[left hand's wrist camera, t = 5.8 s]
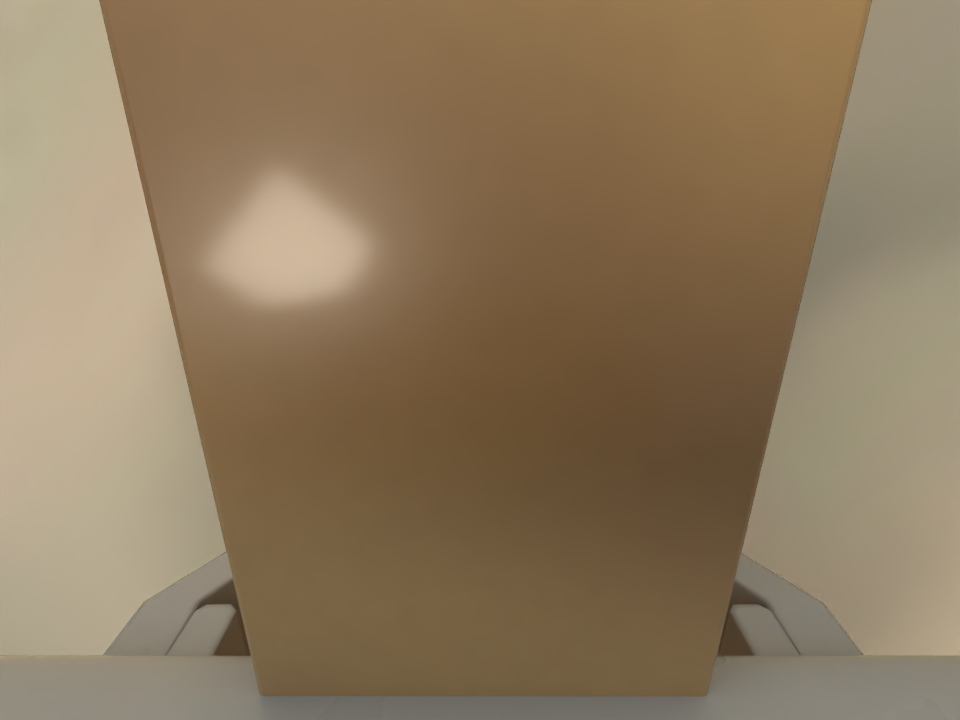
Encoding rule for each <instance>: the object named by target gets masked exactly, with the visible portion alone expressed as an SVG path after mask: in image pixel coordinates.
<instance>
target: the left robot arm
mask: <svg viewBox="0 0 960 720" xmlns="http://www.w3.org/2000/svg"><path fill="white" fill-rule="evenodd" d="M0 720H960V656H864V655H863V654H862V653H861V651H860V650H859V649H858V647H857V646H856V645H855V644H854V642H853V641H852V640H851V638H850V637H849V636H848V635H847V633H846V632H845V631H844V629H843V628H842V627H841V625H840V624H839V623H838V622H837V620H836V619H835V618H834V616H833V615H832V614H831V613H830V611H829V610H828V609H827V607H826V606H825V605H824V604H823V603H822V602H821V601H819V600H817V599H816V598H814V597H812V596H811V595H809V594H807V593H806V592H804V591H802V590H801V589H799V588H798V587H796V586H794V585H793V584H791V583H789V582H788V581H786V580H784V579H783V578H781V577H779V576H778V575H776V574H774V573H773V572H771V571H770V570H768V569H766V568H765V567H763V566H761V565H760V564H758V563H756V562H755V561H753V560H751V559H750V558H748V557H746V556H745V555H743V554H742V553H741V555H740V559H739V564H738V568H737V572H736V576H735V581H734V585H733V589H732V593H731V597H730V602H729V606H728V610H727V614H726V619H725V623H724V627H723V631H722V635H721V640H720V644H719V648H718V652H717V657H716V661H715V665H714V669H713V673H712V678H711V682H710V686H709V690H708V695H705V696H703V697H695V696H263V695H260V694H259V689H258V685H257V681H256V676H255V672H254V668H253V663H252V659H251V655H250V650H249V646H248V642H247V637H246V633H245V629H244V624H243V620H242V616H241V611H240V607H239V603H238V598H237V594H236V590H235V585H234V581H233V577H232V572H231V568H230V564H229V559H228V555H227V552H225V553H223V554H222V555H220V556H219V557H217V558H215V559H214V560H212V561H210V562H209V563H207V564H205V565H204V566H202V567H201V568H199V569H197V570H196V571H194V572H192V573H191V574H189V575H187V576H186V577H184V578H183V579H181V580H179V581H178V582H176V583H174V584H173V585H171V586H169V587H168V588H166V589H164V590H163V591H161V592H160V593H158V594H156V595H155V596H153V597H151V598H150V599H148V600H146V601H145V602H143V604H142V605H141V606H140V608H139V609H138V610H137V612H136V613H135V614H134V615H133V617H132V618H131V619H130V621H129V622H128V623H127V625H126V626H125V627H124V629H123V630H122V631H121V632H120V634H119V635H118V636H117V638H116V639H115V640H114V642H113V643H112V644H111V645H110V647H109V648H108V649H107V651H106V652H105V653H104V655H103V656H0Z"/></svg>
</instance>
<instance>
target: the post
mask: <svg viewBox="0 0 960 720" xmlns="http://www.w3.org/2000/svg"><path fill="white" fill-rule="evenodd" d="M99 1H100V5H101V10H102V14H103V18H104V23H105V27H106V31H107V36H108V40H109V44H110V49H111V53H112V57H113V62H114V66H115V70H116V75H117V79H118V83H119V88H120V92H121V96H122V101H123V105H124V109H125V113H126V118H127V122H128V126H129V131H130V135H131V139H132V144H133V148H134V152H135V157H136V161H137V165H138V170H139V174H140V178H141V183H142V187H143V191H144V196H145V200H146V204H147V209H148V213H149V217H150V222H151V226H152V230H153V235H154V239H155V243H156V248H157V252H158V256H159V261H160V265H161V269H162V274H163V278H164V282H165V287H166V291H167V295H168V300H169V304H170V308H171V313H172V317H173V321H174V326H175V330H176V334H177V339H178V343H179V347H180V352H181V356H182V360H183V365H184V369H185V373H186V378H187V382H188V386H189V391H190V395H191V399H192V404H193V408H194V412H195V417H196V421H197V425H198V430H199V434H200V438H201V443H202V447H203V451H204V456H205V460H206V464H207V468H208V473H209V477H210V481H211V486H212V490H213V494H214V499H215V503H216V507H217V512H218V516H219V520H220V525H221V529H222V533H223V538H224V542H225V546H226V551H227V555H228V559H229V564H230V568H231V572H232V577H233V581H234V585H235V590H236V594H237V598H238V603H239V607H240V611H241V616H242V620H243V624H244V629H245V633H246V637H247V642H248V646H249V650H250V655H251V659H252V663H253V668H254V672H255V676H256V681H257V685H258V689H259V694H260V695H263V696H695V697H703V696H705V695H708V690H709V686H710V682H711V678H712V673H713V669H714V665H715V661H716V657H717V652H718V648H719V644H720V640H721V635H722V631H723V627H724V623H725V619H726V614H727V610H728V606H729V602H730V597H731V593H732V589H733V585H734V581H735V576H736V572H737V568H738V564H739V559H740V555H741V551H742V547H743V543H744V538H745V534H746V530H747V526H748V521H749V517H750V513H751V509H752V505H753V500H754V496H755V492H756V488H757V483H758V479H759V475H760V471H761V467H762V462H763V458H764V454H765V450H766V445H767V441H768V437H769V433H770V429H771V424H772V420H773V416H774V412H775V407H776V403H777V399H778V395H779V391H780V386H781V382H782V378H783V374H784V369H785V365H786V361H787V357H788V353H789V348H790V344H791V340H792V336H793V331H794V327H795V323H796V319H797V314H798V310H799V306H800V302H801V298H802V293H803V289H804V285H805V281H806V276H807V272H808V268H809V264H810V260H811V255H812V251H813V247H814V243H815V238H816V234H817V230H818V226H819V222H820V217H821V213H822V209H823V205H824V200H825V196H826V192H827V188H828V184H829V179H830V175H831V171H832V167H833V162H834V158H835V154H836V150H837V146H838V141H839V137H840V133H841V129H842V124H843V120H844V116H845V112H846V108H847V103H848V99H849V95H850V91H851V86H852V82H853V78H854V74H855V70H856V65H857V61H858V57H859V53H860V48H861V44H862V40H863V36H864V32H865V27H866V23H867V19H868V15H869V10H870V6H871V2H872V0H99Z"/></svg>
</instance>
